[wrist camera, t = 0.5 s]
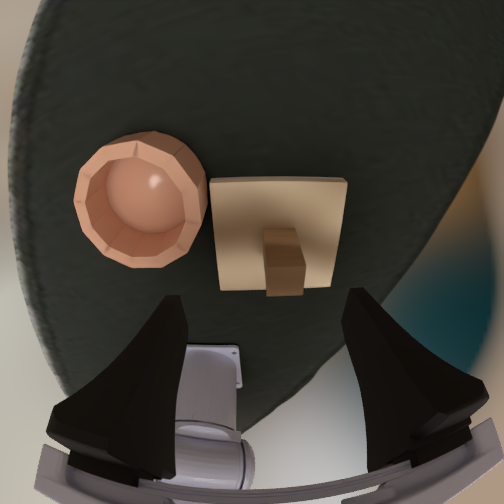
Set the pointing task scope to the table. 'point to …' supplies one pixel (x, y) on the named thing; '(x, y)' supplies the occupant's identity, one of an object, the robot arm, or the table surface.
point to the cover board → (276, 211)
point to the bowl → (142, 199)
